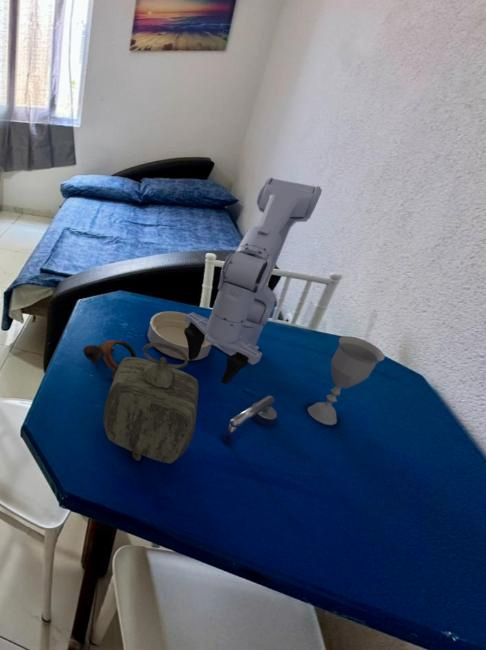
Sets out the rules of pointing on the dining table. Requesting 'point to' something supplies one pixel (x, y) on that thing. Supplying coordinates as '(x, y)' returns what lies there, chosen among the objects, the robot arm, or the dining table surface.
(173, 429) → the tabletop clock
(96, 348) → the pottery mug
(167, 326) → the bowl
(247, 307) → the robot arm
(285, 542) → the dining table surface
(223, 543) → the dining table surface
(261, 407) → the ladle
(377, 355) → the chalice
